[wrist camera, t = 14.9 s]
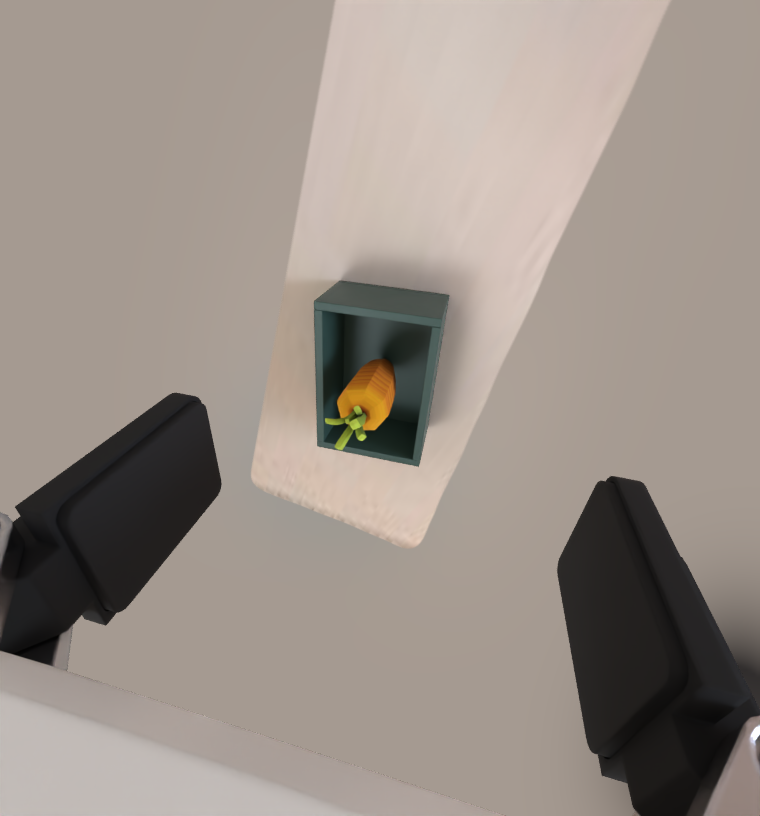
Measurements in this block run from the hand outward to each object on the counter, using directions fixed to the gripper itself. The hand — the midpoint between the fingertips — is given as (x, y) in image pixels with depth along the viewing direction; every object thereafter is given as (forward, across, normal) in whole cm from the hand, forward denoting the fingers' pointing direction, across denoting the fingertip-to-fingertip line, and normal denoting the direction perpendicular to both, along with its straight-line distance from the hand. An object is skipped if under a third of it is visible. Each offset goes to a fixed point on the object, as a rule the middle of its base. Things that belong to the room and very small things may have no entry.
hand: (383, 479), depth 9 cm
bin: (+33, +6, +13) cm, 36 cm away
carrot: (+33, +6, +13) cm, 36 cm away
